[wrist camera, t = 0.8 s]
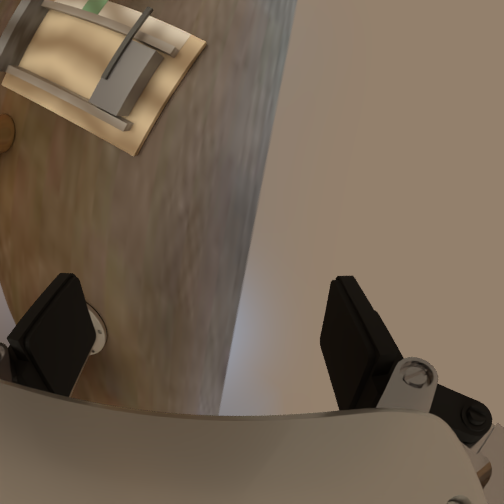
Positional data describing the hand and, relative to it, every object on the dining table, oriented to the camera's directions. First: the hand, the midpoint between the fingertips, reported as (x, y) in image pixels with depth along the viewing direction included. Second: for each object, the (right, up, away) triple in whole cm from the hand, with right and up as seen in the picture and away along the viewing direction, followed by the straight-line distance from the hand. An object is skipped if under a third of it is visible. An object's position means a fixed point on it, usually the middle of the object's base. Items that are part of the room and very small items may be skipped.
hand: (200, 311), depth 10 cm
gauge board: (-19, +26, +17) cm, 37 cm away
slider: (-11, +23, +17) cm, 31 cm away
